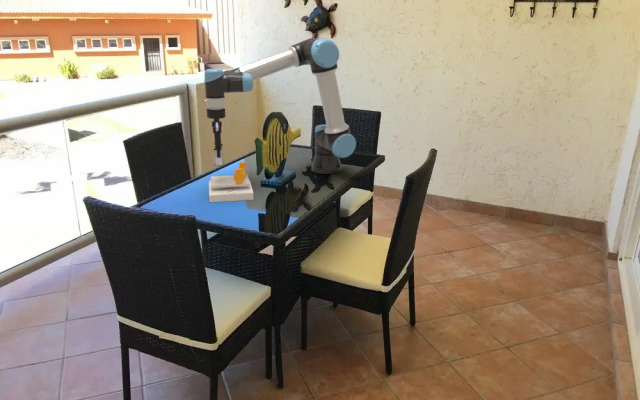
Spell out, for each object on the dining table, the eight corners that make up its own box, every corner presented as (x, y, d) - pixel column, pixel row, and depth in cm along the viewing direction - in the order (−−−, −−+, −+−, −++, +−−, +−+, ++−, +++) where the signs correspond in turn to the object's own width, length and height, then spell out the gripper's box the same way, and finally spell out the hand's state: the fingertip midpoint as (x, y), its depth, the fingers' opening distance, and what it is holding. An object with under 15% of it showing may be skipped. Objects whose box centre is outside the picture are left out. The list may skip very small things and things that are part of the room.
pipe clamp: (236, 176, 219) (235, 162, 217) (246, 176, 219) (245, 162, 217) (231, 184, 208) (231, 169, 206) (242, 184, 208) (241, 169, 206)
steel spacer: (223, 163, 213) (223, 152, 211) (224, 166, 209) (223, 154, 207) (213, 163, 212) (212, 152, 210) (213, 166, 208) (212, 154, 206)
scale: (249, 185, 224) (249, 173, 223) (253, 199, 206) (253, 187, 204) (209, 187, 221) (208, 175, 219) (209, 202, 202) (208, 189, 201)
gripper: (206, 105, 210) (209, 158, 217) (206, 111, 193) (210, 169, 201) (224, 104, 211) (227, 157, 219) (225, 111, 195) (228, 168, 203)
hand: (219, 163), depth 210 cm, fingers closed on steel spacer, 4 cm apart
